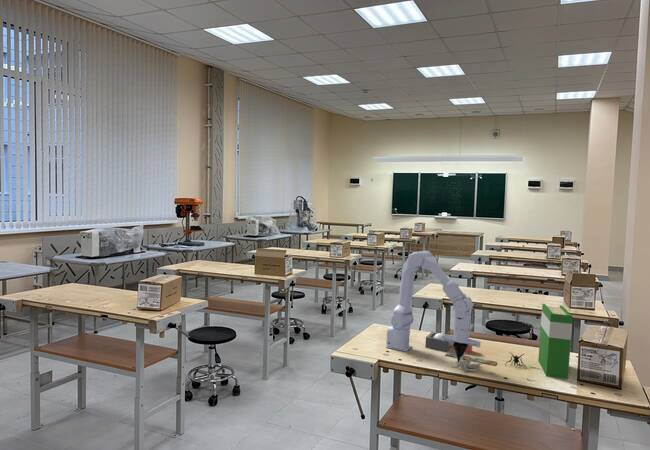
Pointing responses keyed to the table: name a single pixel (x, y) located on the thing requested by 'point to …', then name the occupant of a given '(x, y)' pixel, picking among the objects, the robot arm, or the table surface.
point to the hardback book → (555, 341)
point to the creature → (516, 360)
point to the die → (468, 349)
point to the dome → (438, 335)
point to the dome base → (438, 342)
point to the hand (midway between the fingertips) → (459, 361)
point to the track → (473, 360)
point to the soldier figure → (467, 363)
